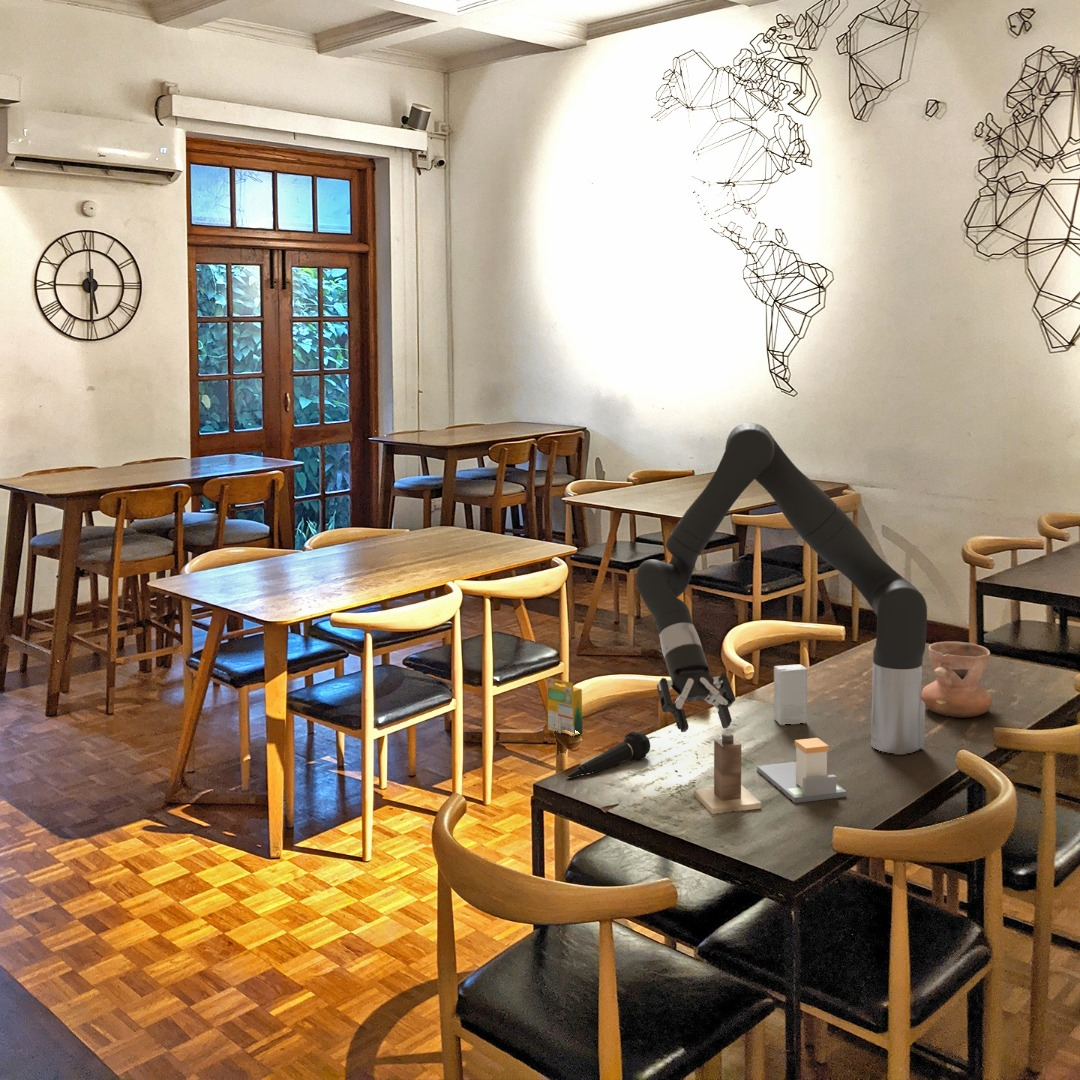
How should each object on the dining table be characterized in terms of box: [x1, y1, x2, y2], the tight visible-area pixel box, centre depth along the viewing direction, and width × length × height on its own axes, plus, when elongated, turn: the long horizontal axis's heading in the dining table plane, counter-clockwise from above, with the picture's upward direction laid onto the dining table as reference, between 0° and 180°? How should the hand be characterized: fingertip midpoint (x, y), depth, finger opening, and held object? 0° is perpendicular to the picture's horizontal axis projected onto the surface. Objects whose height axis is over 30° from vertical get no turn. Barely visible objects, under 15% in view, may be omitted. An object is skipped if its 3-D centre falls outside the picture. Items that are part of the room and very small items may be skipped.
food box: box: [546, 676, 583, 738], centre depth 246 cm, size 7×3×12 cm, turn 48°
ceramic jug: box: [921, 641, 993, 718], centre depth 253 cm, size 18×14×14 cm
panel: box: [756, 761, 848, 804], centre depth 216 cm, size 10×16×4 cm, turn 13°
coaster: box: [693, 784, 762, 815], centre depth 209 cm, size 9×9×1 cm
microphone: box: [567, 731, 651, 777], centre depth 226 cm, size 6×6×20 cm
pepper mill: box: [713, 732, 742, 801], centre depth 208 cm, size 4×4×11 cm
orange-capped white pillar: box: [794, 737, 830, 788], centre depth 211 cm, size 4×4×8 cm
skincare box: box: [773, 663, 808, 726], centre depth 249 cm, size 6×4×12 cm
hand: (706, 728), depth 219 cm, fingers open, 8 cm apart
